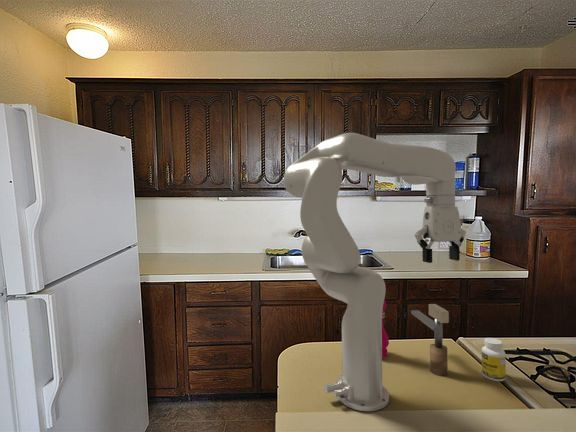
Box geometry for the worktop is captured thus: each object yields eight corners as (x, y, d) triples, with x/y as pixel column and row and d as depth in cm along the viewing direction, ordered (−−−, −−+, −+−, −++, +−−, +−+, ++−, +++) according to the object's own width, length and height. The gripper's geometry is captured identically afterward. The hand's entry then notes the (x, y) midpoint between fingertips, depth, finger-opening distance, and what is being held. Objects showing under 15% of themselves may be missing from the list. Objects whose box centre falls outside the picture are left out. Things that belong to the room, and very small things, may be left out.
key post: (438, 377, 86) (438, 351, 86) (426, 369, 91) (426, 344, 90) (451, 374, 88) (451, 348, 88) (439, 366, 92) (438, 342, 92)
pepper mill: (390, 360, 96) (389, 294, 96) (365, 359, 98) (364, 293, 97) (387, 350, 103) (386, 288, 103) (364, 348, 105) (363, 288, 104)
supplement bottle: (477, 374, 87) (477, 339, 87) (489, 369, 90) (489, 335, 89) (497, 384, 82) (497, 346, 82) (510, 378, 85) (510, 342, 85)
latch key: (449, 351, 86) (449, 311, 85) (440, 351, 85) (440, 311, 85) (418, 326, 104) (417, 293, 104) (411, 326, 104) (410, 293, 104)
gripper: (425, 202, 86) (425, 265, 86) (474, 201, 91) (475, 260, 92) (406, 202, 93) (407, 261, 93) (453, 202, 98) (454, 257, 99)
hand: (441, 261), depth 93 cm, fingers open, 9 cm apart
